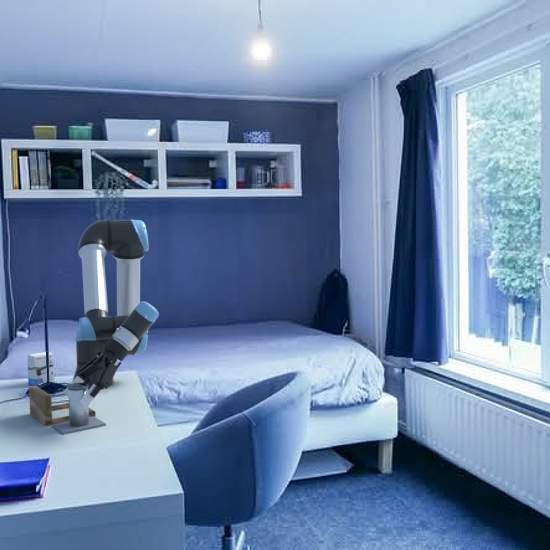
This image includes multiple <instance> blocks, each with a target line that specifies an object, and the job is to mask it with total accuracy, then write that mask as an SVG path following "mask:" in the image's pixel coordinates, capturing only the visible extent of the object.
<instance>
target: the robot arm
mask: <svg viewBox="0 0 550 550" xmlns="http://www.w3.org/2000/svg"><path fill="white" fill-rule="evenodd" d="M149 245H150V244H149V237H148V232H147V226H146V224H145V222H144V221H143V220H141V219H100V220H97V221H94V222H92V223H91V224H90V225H89V226H87V228H86V229H85V230H84V231H83V233H82V234H81V237H80V239H79V242H78V246H77V251H78V257H80V259H81V265H82V266H81V267H82V268H81V269H82V270H81V271H82V286H83V287H82V288H83V305H84V306H83V307H84V316H83V317H80V318H79V319H78V324H79V326H78V327H79V328H77V329H76V330H75V331H76V332H75V343H76V346H75V347H76V348H75V349H76V352H75V353H76V367H75V371H74V375H73V377H72V381H71V383H70V384H73V383H88V391H87V393H86V394H85V395H84V396H83V398H82V399H81V400H80V401H79V402H80V403H81V404H82V405H83V406H85V407H86V408H87V407H89V406H90V404H91V403H92V402H93V401H94V400H95V398H96V396H97V395H98V394H99V393H100V392H101V391H102V390H107V389H108V388H109V385H110V386H111V384H112V385H113V384H114V376H115V374H116V372H117V371H118V369H119V367H120V366H121V364H122V362H123V361H124V360H125V359H126V357H127V356H135V355H140V354H143V353H144V352H145V351H146V349H147V346H148V339H149V338H148V337H149V336H148V335H149V334H148V333H149V329H150V328H151V327H152V325H153V324H154V323H155V322H156V320H158V317H159V316H160V314H159V311H158V309H156V307H154V306H153V305H151V304H150V303H149V302H147V301H143V300H142V301H141V260H142V259H143V258H144V257H145V252H149V249H150V247H149ZM109 252H110V253H112V254H111V255H112V257H113V258H114V259H115V260H116V315H109V308H108V307H109V306H108V293H107V282H106V281H107V279H106V268H105V267H106V266H105V257H106V255H107V253H109ZM62 393H63V394H64V395H65V396H66V397H68V398H69V393H68V386H67V387H66V389H64V390H63V392H62Z"/></svg>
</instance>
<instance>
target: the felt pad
mask: <svg viewBox="0 0 550 550" xmlns="http://www.w3.org/2000/svg"><path fill="white" fill-rule="evenodd" d="M105 426H107V423H106V422H104V421H102V420H101V419H99V418H98V417H96V416H93V417H89V424H88V425H86V426H82V427H71V426H70V424H69V421H68V422H63V423H58V424H53V425H52V428H54V430H56V431H57V432H59V433H60V434H62V435H67V434H72V433H76V432H82V431H86V430H91V429H95V428H96V429H97V428H101V427H105Z"/></svg>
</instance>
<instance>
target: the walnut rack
mask: <svg viewBox="0 0 550 550" xmlns="http://www.w3.org/2000/svg"><path fill="white" fill-rule="evenodd" d="M28 392H29V393H28V396H29V399H28V400H29V414H30V416H32V417H34V419H36V420H37V421H39V422H40V424H42V425H44V426H45V427H47V426H53V425H55V424H60V423H66V422H69V415H66V416H59V417H54V418H53V412H54V411H58V410H59V411H60V410H64V409H69V402H64V403H58V404H53V405H52V401H53V400H52V395H51V394H50V393H48V392H46V391H45V390H43V389H42V388H40V387H39V386H32V385H29V386H28ZM91 417H96V411H95V410H94V409H92V408H90V407H89V418H91Z"/></svg>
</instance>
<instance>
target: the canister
mask: <svg viewBox="0 0 550 550" xmlns="http://www.w3.org/2000/svg"><path fill="white" fill-rule="evenodd" d="M67 387H68V393H69V397H68V403H69V408H68V414H69V415H68V416H69V421H68V422H69V424H70V426H71V427H82V426H86V425H88V424H89V418H90V417H89V408H90V407H89V406H88V407H87V408H86V407H85V406H83V405H82V404H81V403H80V402H79V401H80V400H81V399H82V398H83V396H84V395H85V394H86V393H87V391H88V390H89V389H88V383H73V384H71V383H70V384H68V385H67Z"/></svg>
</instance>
